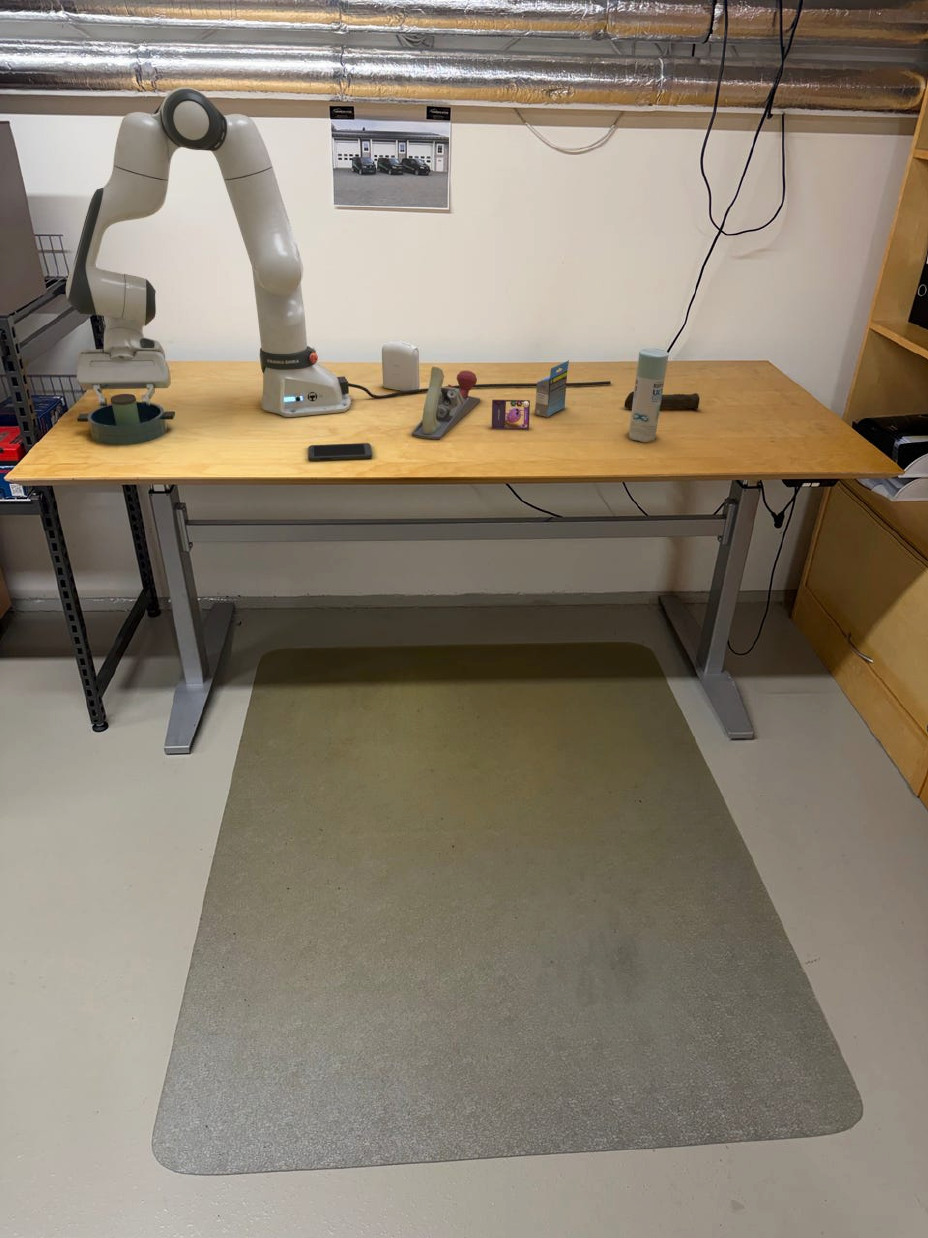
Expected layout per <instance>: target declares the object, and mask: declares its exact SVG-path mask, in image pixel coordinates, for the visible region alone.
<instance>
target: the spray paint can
mask: <svg viewBox="0 0 928 1238" xmlns="http://www.w3.org/2000/svg"><path fill="white" fill-rule="evenodd" d="M637 359H638V360H637V366H636V374H635V383H634V390H633V391H634V397H633V405H632V409H631V412H630V413H631V414H630V422H629V429H628V438H629V439H630V440H632V441H635V442H639V443H649V442H653V441H654V440H655V439H656V436H657V435H656V434H657V428H658V423H659V417H660V410H661V408H660V405H661V398H662V395H663V391H664V385H665V380H666V374H667V373H666V372H667V367H668V360H669V352H668V351H666V350H663V349H660V348H642V349H640V350H639V352H638V357H637Z"/></svg>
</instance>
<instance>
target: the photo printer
mask: <svg viewBox="0 0 928 1238" xmlns="http://www.w3.org/2000/svg"><path fill="white" fill-rule="evenodd" d="M381 370H382V387H383V388H385V389H390V390H395V391H399V392H402V391H410V390H417V389H420V385H421V383H420V352H419V349H418V347H417V346H415V345H413V344H411V343H408V342H405V341H400V340H393V341H388V342H385V343H383V344H382V347H381Z"/></svg>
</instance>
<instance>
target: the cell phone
mask: <svg viewBox="0 0 928 1238" xmlns="http://www.w3.org/2000/svg"><path fill="white" fill-rule="evenodd" d="M307 449H308V451H307V452H308V460H309V461H311V462H318V461H319V462H320V461H339V460H342V461H343V460H364V459H365V460H367V459H372V458H373V450H372V445H371V443H369V442H355V443H354V442H353V443H336V444H335V443H331V444H329V443H327V444H311V445H309V446H308V448H307Z"/></svg>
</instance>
